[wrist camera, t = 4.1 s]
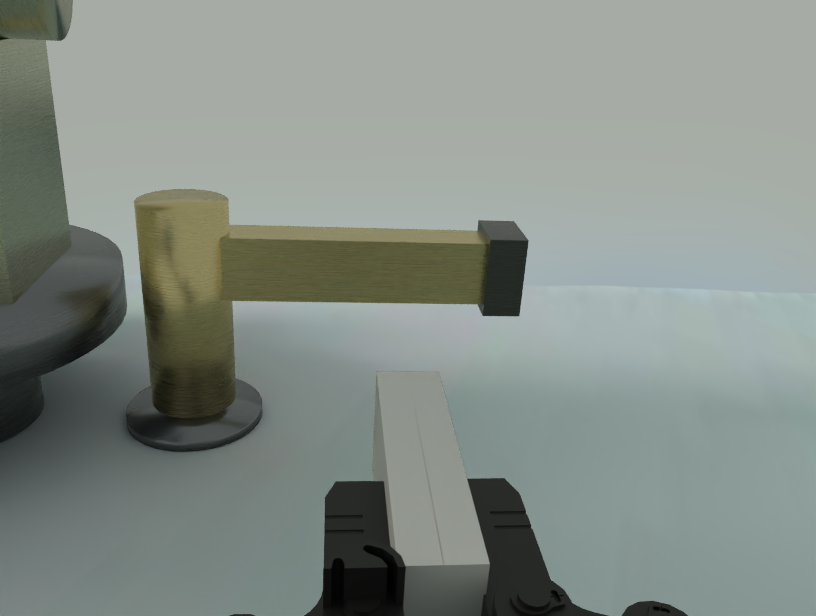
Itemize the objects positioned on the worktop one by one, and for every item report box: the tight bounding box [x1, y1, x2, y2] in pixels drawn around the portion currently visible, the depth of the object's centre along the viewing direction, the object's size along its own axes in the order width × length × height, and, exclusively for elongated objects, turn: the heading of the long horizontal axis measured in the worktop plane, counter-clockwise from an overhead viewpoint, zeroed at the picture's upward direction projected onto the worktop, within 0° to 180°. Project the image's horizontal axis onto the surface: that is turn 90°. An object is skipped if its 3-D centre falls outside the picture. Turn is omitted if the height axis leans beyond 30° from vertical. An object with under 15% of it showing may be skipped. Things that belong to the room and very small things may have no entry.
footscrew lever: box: [134, 189, 528, 418], centre depth 29 cm, size 14×3×8 cm, turn 95°
